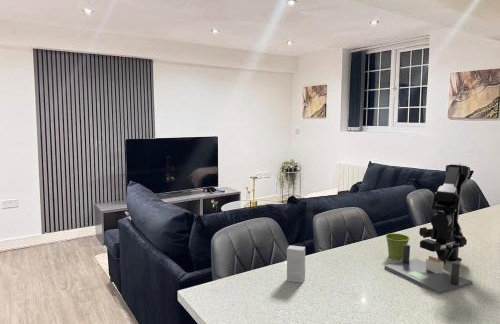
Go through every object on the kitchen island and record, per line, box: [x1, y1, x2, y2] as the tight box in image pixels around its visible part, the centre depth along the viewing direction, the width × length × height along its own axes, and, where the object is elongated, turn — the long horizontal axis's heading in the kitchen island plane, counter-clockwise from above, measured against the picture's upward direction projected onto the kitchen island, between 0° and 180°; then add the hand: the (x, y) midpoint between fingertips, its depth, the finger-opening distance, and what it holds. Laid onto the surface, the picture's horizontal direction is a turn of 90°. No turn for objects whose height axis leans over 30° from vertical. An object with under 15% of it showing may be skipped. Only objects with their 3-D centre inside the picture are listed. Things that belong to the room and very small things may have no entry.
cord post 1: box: [402, 244, 411, 264], centre depth 150 cm, size 2×2×7 cm
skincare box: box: [286, 245, 306, 284], centre depth 137 cm, size 6×4×12 cm
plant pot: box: [385, 232, 410, 260], centre depth 159 cm, size 9×9×9 cm
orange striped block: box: [425, 255, 445, 274], centre depth 142 cm, size 3×5×5 cm, turn 25°
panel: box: [384, 258, 474, 295], centre depth 140 cm, size 17×24×1 cm
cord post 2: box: [450, 262, 461, 285], centre depth 131 cm, size 2×2×7 cm
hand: (442, 264), depth 143 cm, fingers closed
